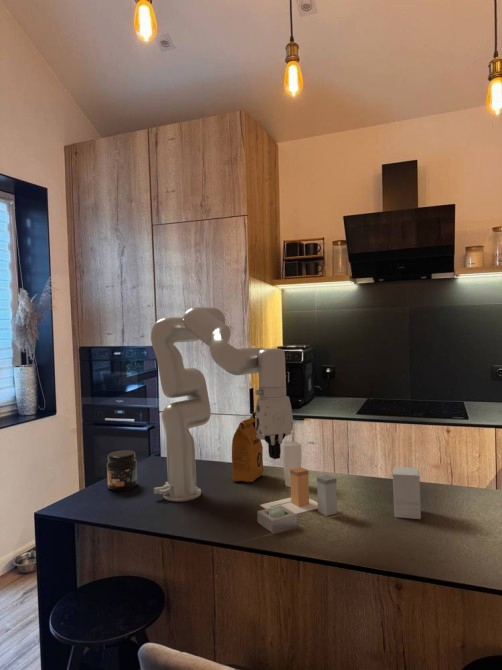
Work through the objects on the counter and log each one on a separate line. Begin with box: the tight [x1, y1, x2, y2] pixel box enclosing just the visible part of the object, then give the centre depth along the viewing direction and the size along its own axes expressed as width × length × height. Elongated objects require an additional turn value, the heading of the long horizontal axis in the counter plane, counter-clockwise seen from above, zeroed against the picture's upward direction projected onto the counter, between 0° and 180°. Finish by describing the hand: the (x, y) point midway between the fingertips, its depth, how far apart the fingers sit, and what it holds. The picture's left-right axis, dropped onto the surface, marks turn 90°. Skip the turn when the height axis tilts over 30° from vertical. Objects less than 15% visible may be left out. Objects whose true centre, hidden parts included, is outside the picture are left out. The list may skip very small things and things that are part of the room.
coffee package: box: [231, 416, 264, 483], centre depth 176 cm, size 10×12×22 cm
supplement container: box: [106, 449, 138, 492], centre depth 171 cm, size 10×10×12 cm
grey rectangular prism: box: [316, 474, 338, 517], centre depth 141 cm, size 4×4×11 cm
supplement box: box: [392, 466, 422, 520], centre depth 138 cm, size 7×7×13 cm
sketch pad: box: [259, 497, 318, 515], centre depth 147 cm, size 16×12×1 cm
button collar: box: [256, 505, 298, 534], centre depth 134 cm, size 8×8×4 cm
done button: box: [269, 508, 285, 518], centre depth 133 cm, size 4×4×4 cm
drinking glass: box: [281, 440, 303, 488], centre depth 166 cm, size 7×7×15 cm
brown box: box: [290, 466, 310, 507], centre depth 148 cm, size 4×4×11 cm
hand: (274, 457), depth 133 cm, fingers closed
